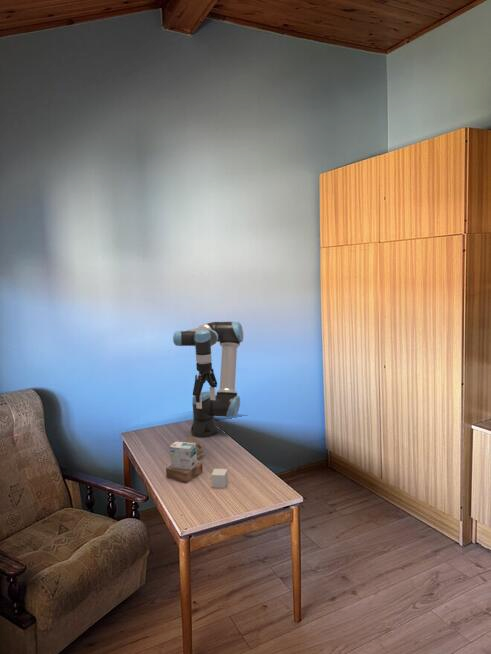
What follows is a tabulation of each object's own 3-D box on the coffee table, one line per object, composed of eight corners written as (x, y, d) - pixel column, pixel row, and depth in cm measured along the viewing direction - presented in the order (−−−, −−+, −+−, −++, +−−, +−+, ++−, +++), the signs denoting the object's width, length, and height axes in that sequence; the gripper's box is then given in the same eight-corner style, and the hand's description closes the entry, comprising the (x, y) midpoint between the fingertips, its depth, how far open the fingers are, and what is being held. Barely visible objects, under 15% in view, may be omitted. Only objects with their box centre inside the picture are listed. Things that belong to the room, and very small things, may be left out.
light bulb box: (197, 464, 236) (196, 442, 234) (191, 470, 230) (190, 448, 228) (177, 462, 239) (175, 440, 238) (170, 468, 233) (169, 446, 231)
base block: (183, 468, 244) (182, 458, 243) (202, 473, 237) (202, 463, 236) (166, 478, 234) (165, 468, 233) (186, 484, 227) (185, 473, 227)
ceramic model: (178, 452, 261) (177, 434, 260) (197, 447, 267) (196, 430, 265) (189, 462, 249) (188, 443, 247) (209, 457, 255) (208, 438, 253)
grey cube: (215, 481, 229) (214, 468, 228) (227, 481, 227) (227, 469, 226) (211, 487, 223) (211, 474, 222) (225, 488, 222) (224, 475, 221)
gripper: (209, 356, 257) (211, 395, 260) (183, 367, 234) (186, 411, 238) (222, 357, 253) (224, 397, 257) (197, 368, 231) (199, 412, 235)
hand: (206, 404), depth 248 cm, fingers open, 13 cm apart
